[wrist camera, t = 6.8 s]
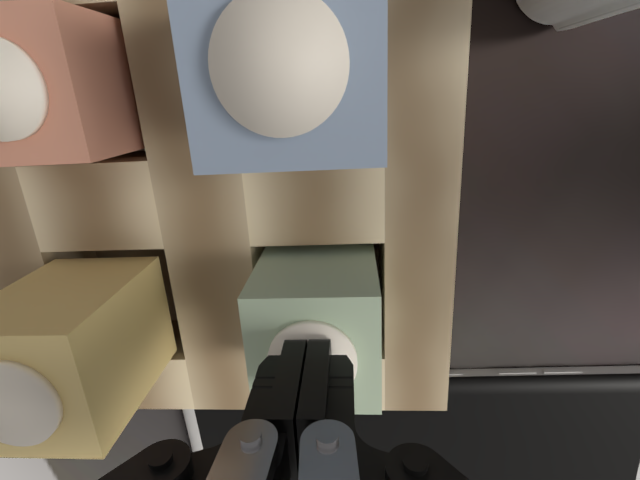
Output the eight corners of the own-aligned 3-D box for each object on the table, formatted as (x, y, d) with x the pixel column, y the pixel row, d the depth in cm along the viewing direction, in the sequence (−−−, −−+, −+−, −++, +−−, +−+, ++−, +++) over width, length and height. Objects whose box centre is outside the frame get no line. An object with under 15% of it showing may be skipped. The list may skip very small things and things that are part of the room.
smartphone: (184, 367, 25) (172, 386, 24) (655, 357, 23) (679, 377, 21) (219, 521, 30) (211, 546, 28) (617, 528, 27) (634, 556, 26)
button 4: (371, 234, 19) (382, 301, 13) (372, 323, 20) (382, 421, 14) (270, 237, 19) (234, 303, 13) (279, 325, 20) (250, 420, 15)
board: (446, -78, 16) (480, -137, 12) (429, 352, 23) (446, 410, 19) (-23, -37, 18) (-138, -77, 14) (87, 353, 25) (33, 408, 20)
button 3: (371, -3, 14) (388, -76, 8) (373, 139, 15) (388, 169, 9) (235, 6, 14) (152, -55, 8) (250, 144, 16) (189, 177, 10)
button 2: (158, 256, 17) (60, 341, 11) (176, 349, 19) (98, 467, 13) (54, 258, 18) (-92, 342, 12) (81, 350, 19) (-37, 464, 13)
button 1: (149, 28, 17) (44, -6, 11) (168, 141, 19) (85, 164, 13) (45, 35, 18) (-111, 7, 12) (72, 146, 19) (-53, 170, 13)
